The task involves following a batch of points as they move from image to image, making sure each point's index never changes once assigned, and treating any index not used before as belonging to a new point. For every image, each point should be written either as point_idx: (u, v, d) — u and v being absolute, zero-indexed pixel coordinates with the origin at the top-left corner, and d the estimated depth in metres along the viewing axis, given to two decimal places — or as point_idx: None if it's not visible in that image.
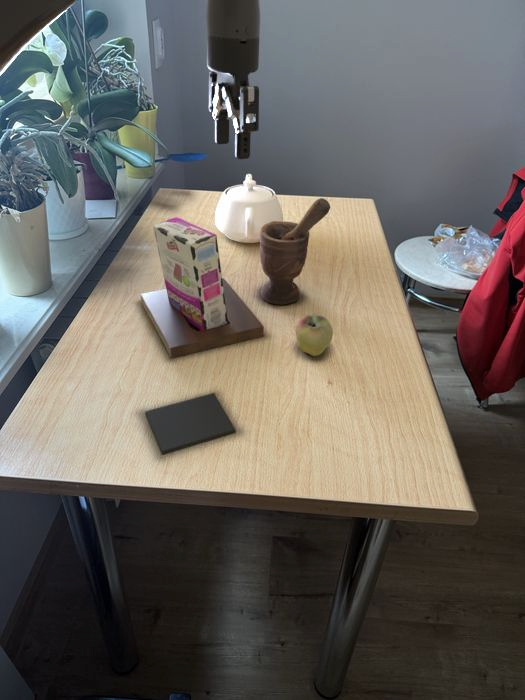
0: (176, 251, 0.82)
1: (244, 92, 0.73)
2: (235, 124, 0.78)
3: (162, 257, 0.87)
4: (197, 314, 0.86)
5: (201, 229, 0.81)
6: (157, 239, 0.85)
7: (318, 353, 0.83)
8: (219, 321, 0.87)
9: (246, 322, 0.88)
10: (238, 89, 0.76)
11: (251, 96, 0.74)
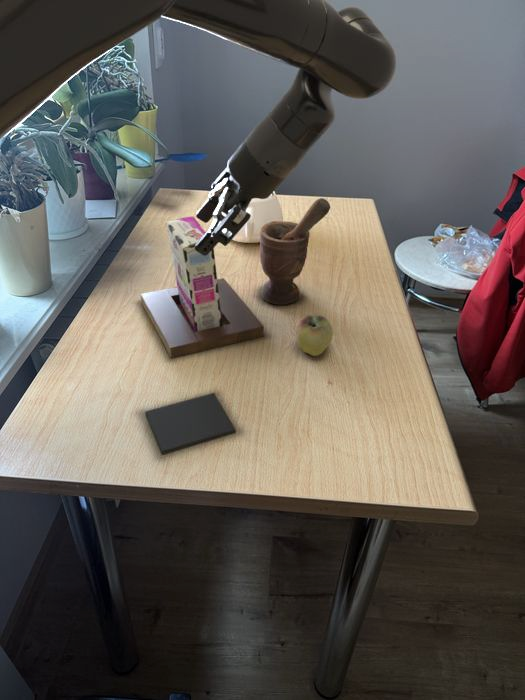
0: (177, 251, 0.83)
1: (234, 212, 0.71)
2: (212, 224, 0.75)
3: (172, 253, 0.88)
4: (191, 314, 0.87)
5: (203, 233, 0.81)
6: (169, 235, 0.87)
7: (318, 353, 0.83)
8: (212, 326, 0.88)
9: (246, 322, 0.88)
10: (235, 202, 0.73)
11: (238, 219, 0.72)
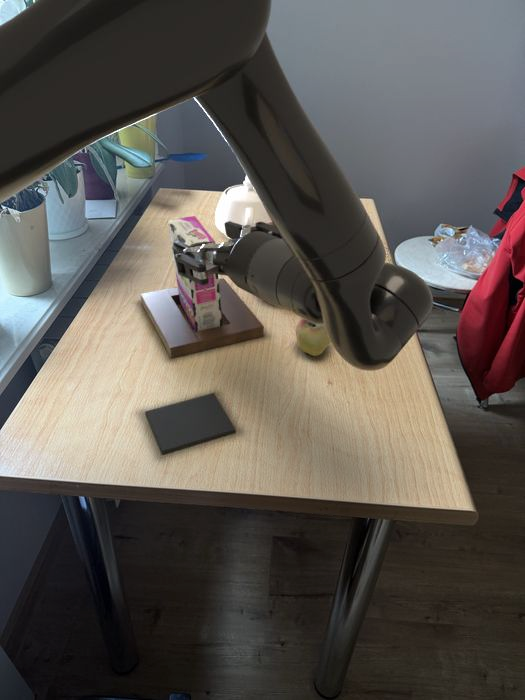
0: None
1: (196, 267, 0.64)
2: (194, 249, 0.68)
3: (173, 253, 0.88)
4: (191, 314, 0.87)
5: (205, 233, 0.82)
6: (170, 234, 0.87)
7: (318, 353, 0.83)
8: (212, 326, 0.88)
9: (246, 322, 0.88)
10: (214, 261, 0.65)
11: (195, 274, 0.65)
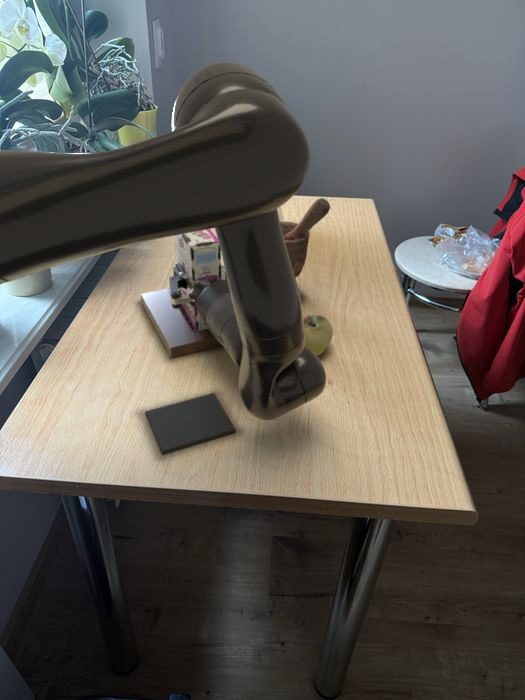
0: (183, 249, 0.83)
1: (171, 293, 0.79)
2: (186, 275, 0.84)
3: (176, 252, 0.89)
4: (192, 314, 0.87)
5: (210, 233, 0.82)
6: None
7: (318, 353, 0.83)
8: None
9: None
10: (189, 294, 0.80)
11: (171, 298, 0.80)
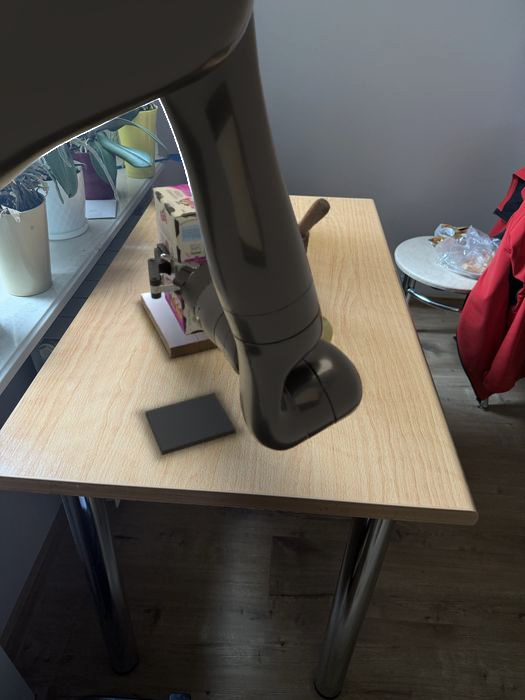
0: (166, 224, 0.65)
1: (149, 279, 0.61)
2: (169, 257, 0.65)
3: (158, 230, 0.70)
4: (179, 307, 0.69)
5: None
6: (155, 205, 0.69)
7: None
8: None
9: None
10: (173, 280, 0.61)
11: None
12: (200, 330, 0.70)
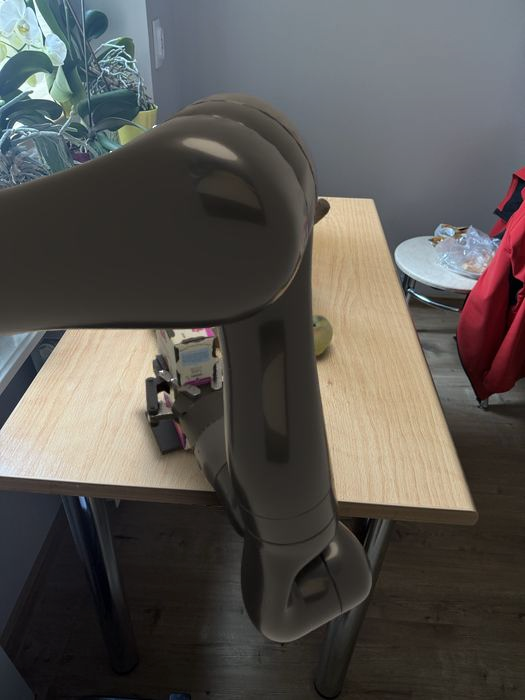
0: (165, 342, 0.62)
1: None
2: (168, 375, 0.62)
3: (157, 338, 0.67)
4: None
5: None
6: None
7: (318, 353, 0.83)
8: None
9: None
10: (172, 407, 0.58)
11: None
12: None
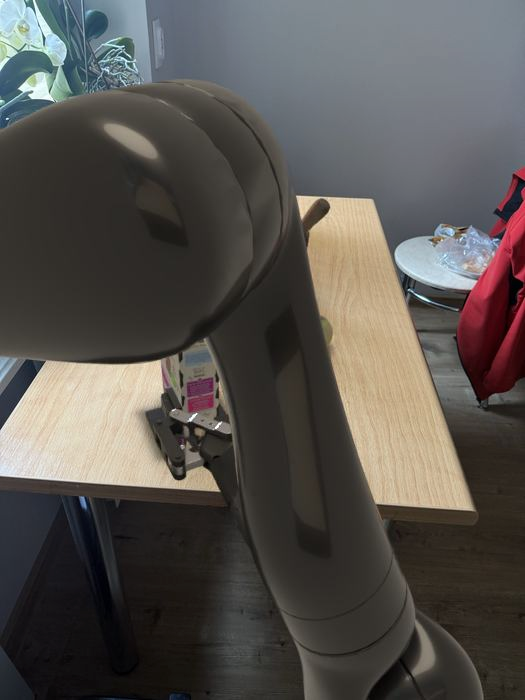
0: None
1: (171, 459, 0.46)
2: (183, 415, 0.50)
3: None
4: None
5: None
6: None
7: None
8: None
9: None
10: (200, 451, 0.47)
11: (169, 464, 0.47)
12: None
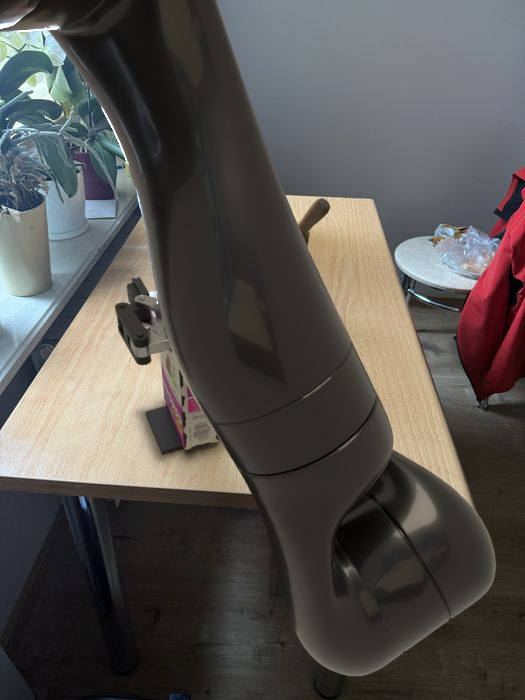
0: None
1: (132, 338, 0.40)
2: (150, 300, 0.44)
3: None
4: (179, 422, 0.66)
5: None
6: None
7: None
8: (206, 438, 0.66)
9: None
10: None
11: (132, 346, 0.41)
12: (201, 444, 0.67)
